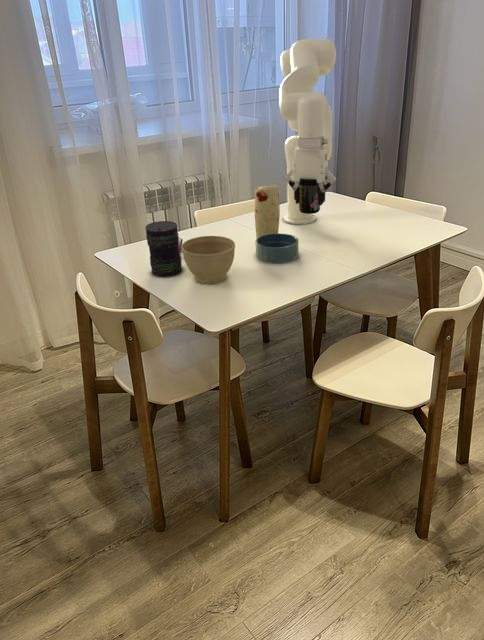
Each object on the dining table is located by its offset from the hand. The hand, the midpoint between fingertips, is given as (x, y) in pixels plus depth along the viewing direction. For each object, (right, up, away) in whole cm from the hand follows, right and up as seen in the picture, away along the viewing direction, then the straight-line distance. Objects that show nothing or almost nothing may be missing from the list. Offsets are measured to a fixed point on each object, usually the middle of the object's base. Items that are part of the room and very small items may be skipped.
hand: (309, 202), depth 166 cm
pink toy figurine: (-44, -12, +20) cm, 50 cm away
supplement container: (0, -2, +1) cm, 3 cm away
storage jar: (-45, -20, +6) cm, 50 cm away
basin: (-10, -14, +15) cm, 22 cm away
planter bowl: (-31, -23, +1) cm, 38 cm away
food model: (-13, -6, +28) cm, 31 cm away
